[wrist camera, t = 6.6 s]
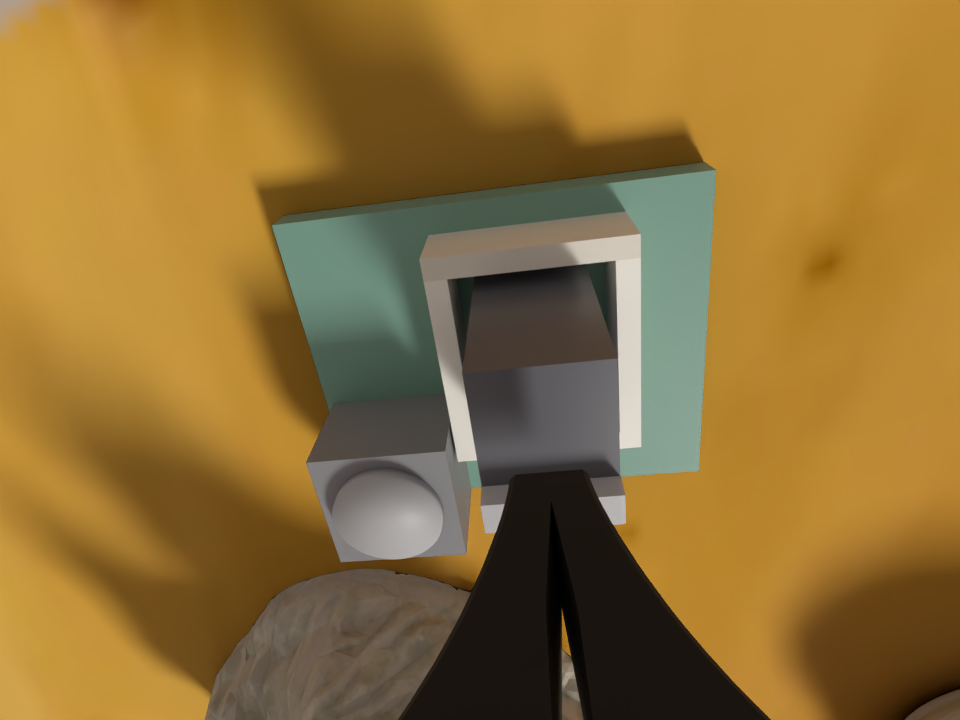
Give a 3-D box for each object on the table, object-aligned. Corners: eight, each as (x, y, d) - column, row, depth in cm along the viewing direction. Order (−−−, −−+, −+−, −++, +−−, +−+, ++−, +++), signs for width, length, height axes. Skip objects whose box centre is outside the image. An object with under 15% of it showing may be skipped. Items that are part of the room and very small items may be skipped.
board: (704, 162, 16) (766, 204, 12) (690, 452, 21) (731, 547, 17) (283, 215, 17) (219, 268, 13) (361, 478, 22) (331, 572, 18)
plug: (582, 253, 16) (623, 374, 11) (588, 376, 18) (626, 534, 13) (476, 265, 17) (460, 389, 11) (493, 384, 19) (487, 543, 13)
